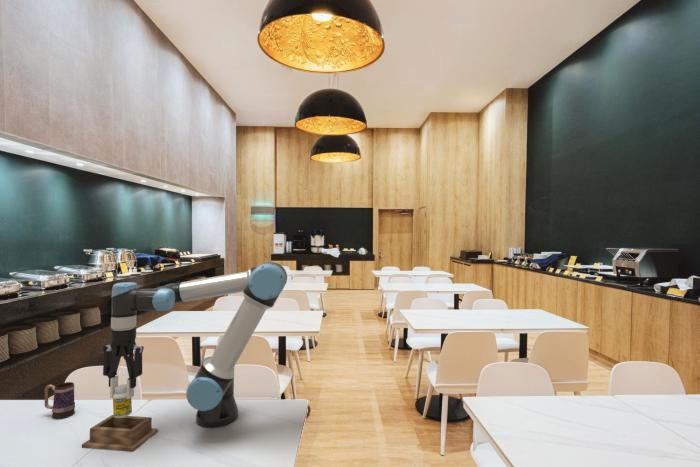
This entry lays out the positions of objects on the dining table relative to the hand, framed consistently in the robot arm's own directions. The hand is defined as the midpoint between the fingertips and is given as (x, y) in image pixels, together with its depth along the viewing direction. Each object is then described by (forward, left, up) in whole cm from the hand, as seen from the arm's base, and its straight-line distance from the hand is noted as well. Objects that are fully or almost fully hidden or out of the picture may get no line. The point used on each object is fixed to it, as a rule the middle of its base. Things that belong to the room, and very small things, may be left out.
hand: (122, 396), depth 129 cm
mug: (+36, -13, -14) cm, 41 cm away
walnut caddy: (0, 0, -14) cm, 14 cm away
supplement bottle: (0, 0, -6) cm, 6 cm away
